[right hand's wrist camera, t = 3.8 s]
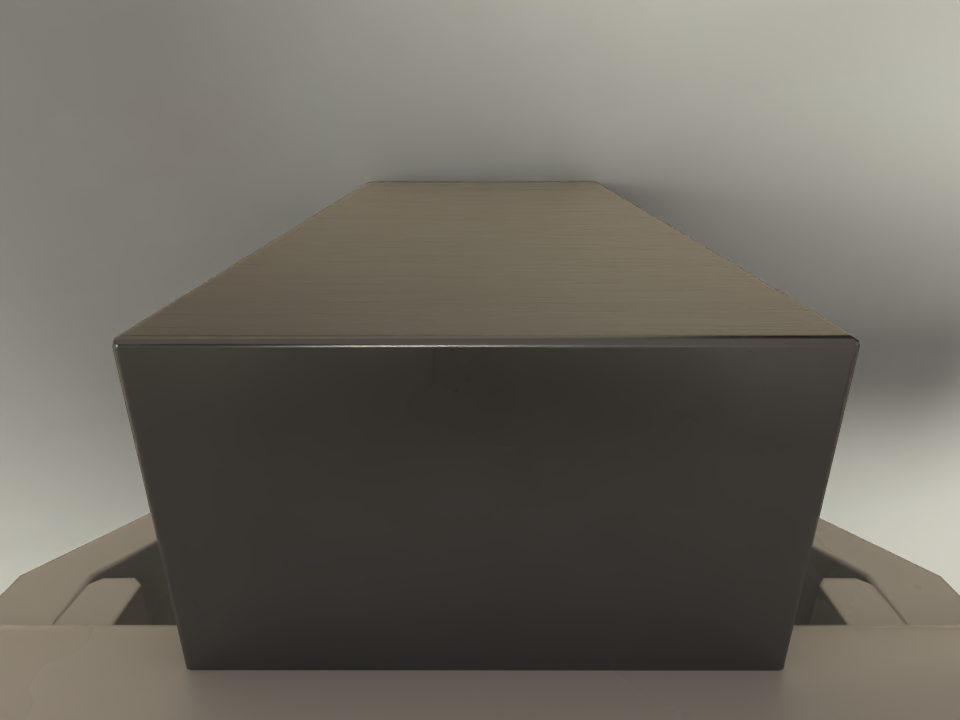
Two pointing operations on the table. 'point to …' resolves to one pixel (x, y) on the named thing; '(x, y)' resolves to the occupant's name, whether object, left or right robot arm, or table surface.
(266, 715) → the right robot arm
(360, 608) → the bar
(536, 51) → the table surface
